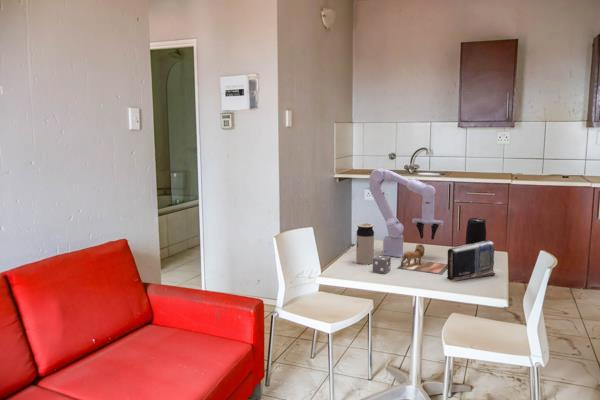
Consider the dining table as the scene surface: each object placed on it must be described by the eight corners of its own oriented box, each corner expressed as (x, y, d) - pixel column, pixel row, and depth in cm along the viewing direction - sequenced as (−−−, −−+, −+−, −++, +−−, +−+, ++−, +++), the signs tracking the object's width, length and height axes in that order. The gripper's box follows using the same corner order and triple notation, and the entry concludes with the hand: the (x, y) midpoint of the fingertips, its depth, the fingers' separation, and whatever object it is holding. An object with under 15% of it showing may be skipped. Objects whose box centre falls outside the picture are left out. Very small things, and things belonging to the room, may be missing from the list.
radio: (449, 281, 206) (451, 246, 203) (438, 275, 214) (439, 241, 212) (498, 277, 212) (500, 242, 210) (486, 271, 220) (487, 238, 218)
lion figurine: (417, 261, 236) (418, 242, 235) (427, 263, 232) (427, 244, 231) (397, 266, 227) (397, 247, 226) (406, 269, 223) (407, 249, 222)
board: (396, 268, 225) (397, 267, 225) (408, 259, 240) (408, 259, 240) (441, 274, 215) (441, 274, 215) (451, 265, 230) (451, 264, 230)
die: (372, 272, 220) (372, 258, 219) (377, 268, 225) (377, 255, 224) (385, 273, 217) (386, 260, 216) (390, 270, 222) (390, 257, 221)
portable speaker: (488, 259, 239) (490, 219, 236) (477, 262, 233) (479, 221, 230) (472, 255, 246) (474, 216, 243) (461, 259, 240) (463, 218, 237)
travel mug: (374, 260, 238) (374, 223, 236) (372, 265, 231) (373, 226, 228) (357, 259, 240) (357, 222, 237) (355, 264, 232) (355, 226, 230)
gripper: (410, 210, 240) (409, 238, 242) (441, 213, 233) (440, 241, 235) (415, 208, 246) (414, 235, 248) (445, 211, 239) (444, 239, 241)
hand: (427, 238), depth 242 cm, fingers open, 5 cm apart
